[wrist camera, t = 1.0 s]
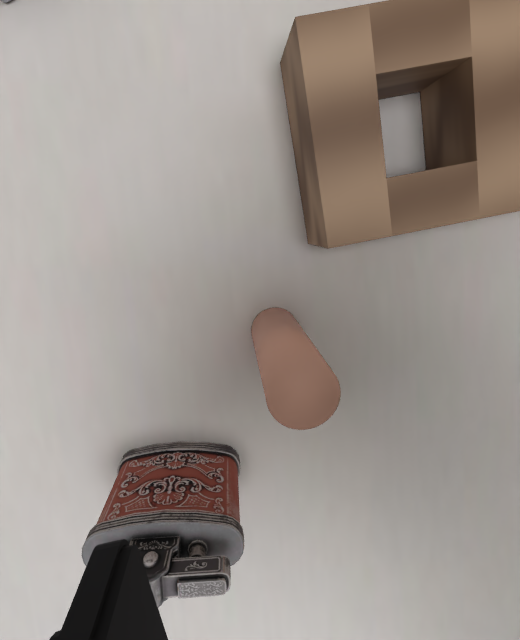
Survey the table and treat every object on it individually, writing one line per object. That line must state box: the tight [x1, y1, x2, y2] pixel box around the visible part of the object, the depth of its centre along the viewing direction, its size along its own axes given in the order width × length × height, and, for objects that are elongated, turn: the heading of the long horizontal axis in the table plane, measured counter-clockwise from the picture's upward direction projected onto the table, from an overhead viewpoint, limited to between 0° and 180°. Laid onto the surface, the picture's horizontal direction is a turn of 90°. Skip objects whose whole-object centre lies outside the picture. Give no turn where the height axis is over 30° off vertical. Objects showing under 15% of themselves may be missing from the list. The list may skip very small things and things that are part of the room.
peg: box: [251, 308, 341, 430], centre depth 21 cm, size 3×3×10 cm
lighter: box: [82, 442, 244, 607], centre depth 22 cm, size 8×3×10 cm, turn 90°
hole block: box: [280, 0, 520, 249], centre depth 21 cm, size 10×22×5 cm, turn 101°
